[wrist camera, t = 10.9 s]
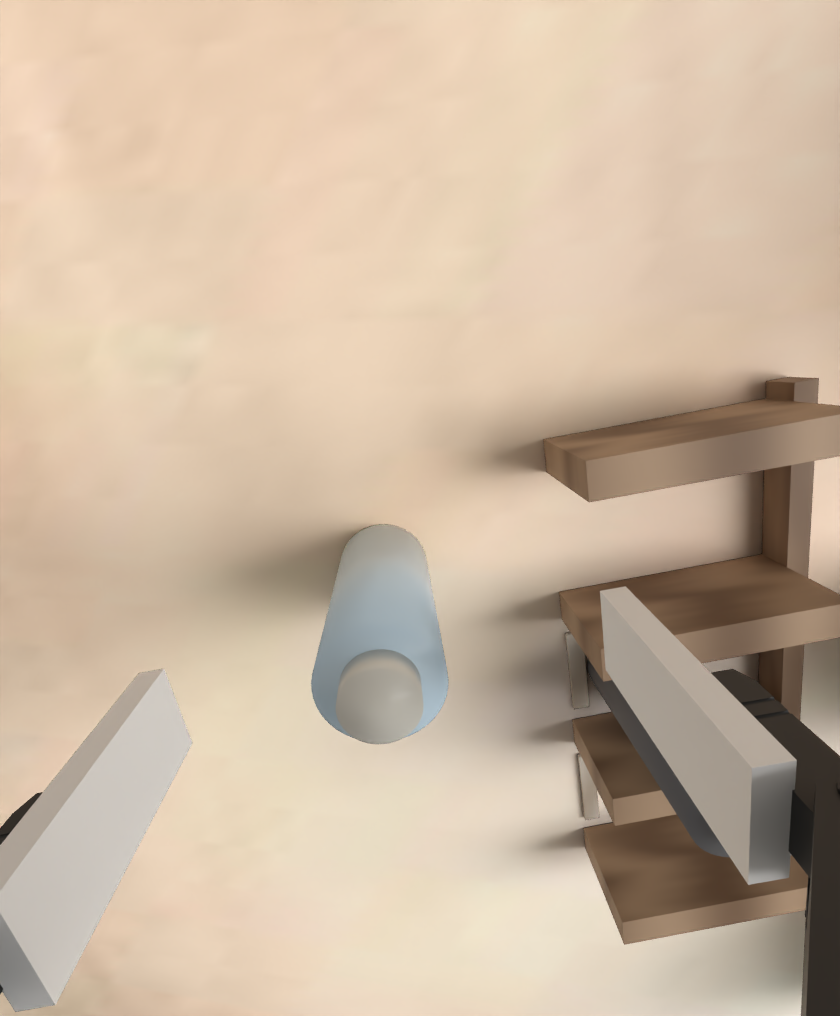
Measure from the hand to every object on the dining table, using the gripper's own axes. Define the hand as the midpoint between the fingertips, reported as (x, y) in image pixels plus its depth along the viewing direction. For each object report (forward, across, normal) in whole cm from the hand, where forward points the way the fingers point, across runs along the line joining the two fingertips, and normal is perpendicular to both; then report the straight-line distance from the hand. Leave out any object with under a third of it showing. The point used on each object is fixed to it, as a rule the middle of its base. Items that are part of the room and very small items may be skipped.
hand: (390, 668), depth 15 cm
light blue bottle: (+9, 0, 0) cm, 9 cm away
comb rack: (+9, +14, -8) cm, 18 cm away
